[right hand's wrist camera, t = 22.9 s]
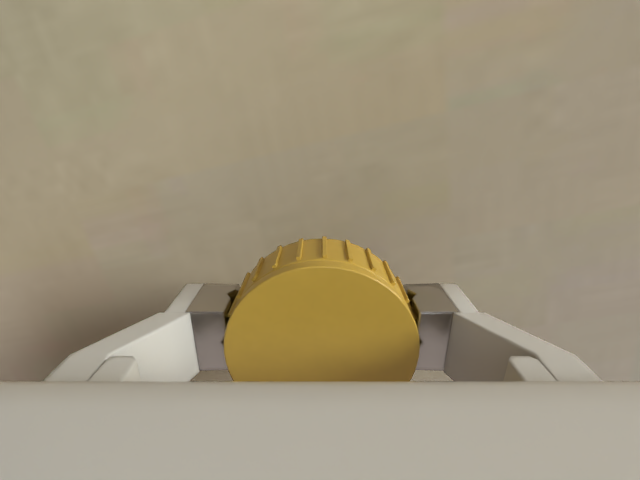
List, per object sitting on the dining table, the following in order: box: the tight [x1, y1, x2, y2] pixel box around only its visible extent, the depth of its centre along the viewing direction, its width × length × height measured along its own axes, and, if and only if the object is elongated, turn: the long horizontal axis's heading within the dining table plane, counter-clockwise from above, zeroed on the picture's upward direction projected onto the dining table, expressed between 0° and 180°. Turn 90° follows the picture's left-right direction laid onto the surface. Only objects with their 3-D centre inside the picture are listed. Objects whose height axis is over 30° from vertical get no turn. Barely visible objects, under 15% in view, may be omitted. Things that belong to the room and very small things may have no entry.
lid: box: [224, 237, 420, 381], centre depth 9 cm, size 5×5×2 cm
